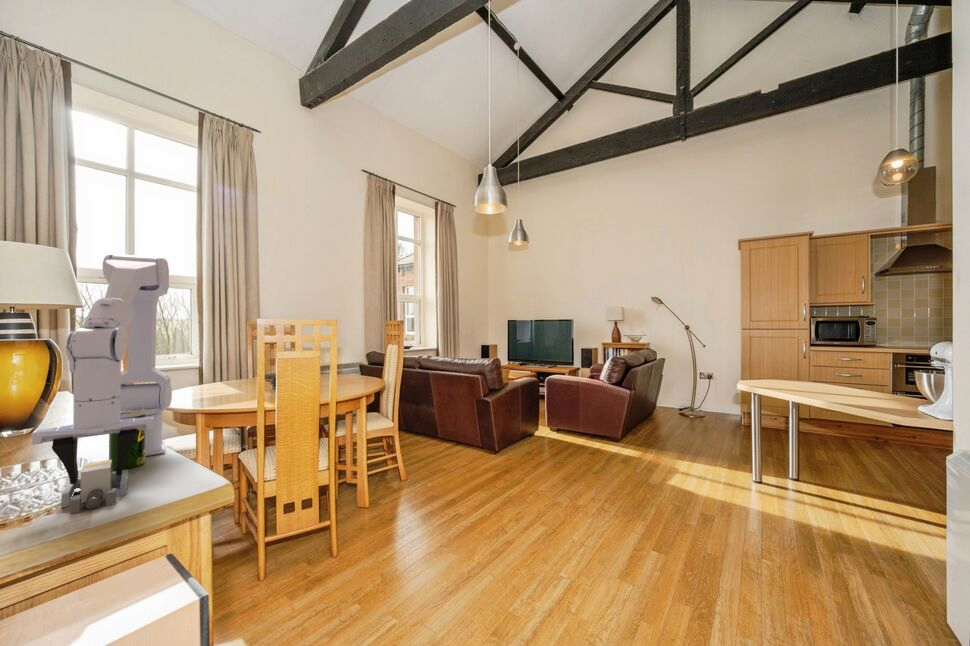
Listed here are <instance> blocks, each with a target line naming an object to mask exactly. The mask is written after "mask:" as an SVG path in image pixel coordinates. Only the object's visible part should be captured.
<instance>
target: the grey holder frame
mask: <svg viewBox="0 0 970 646" xmlns="http://www.w3.org/2000/svg"><path fill="white" fill-rule="evenodd" d="M117 485H120V486H119V488H120V489H119V490H120V491H119V492H120V493H119V495H120V497H122V496H127V495H128V485H129V473H128V469H127V470H122V475H119V476H116V472H112V486H117ZM76 488H80V489H81V477H78V480H77V483H75V484H70V480H69V479H67V482H66V485H65V487H64V489H63V491H62V493H61V509H64V508H69V507H70V509H69V513H70V514H71V515H72V514H76V513H80V512H81V509H82V503H81V494H77V495H74V496H72V494H73V492H74V489H76ZM116 489H117V488H116V487H112V489H107V493H106V498H105V500H106V507H108V506H112V505H116V499H117V497H116V496H117V495H116V493H117V491H116ZM71 497H72V498H71Z"/></svg>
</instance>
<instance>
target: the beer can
mask: <svg viewBox="0 0 970 646" xmlns="http://www.w3.org/2000/svg"><path fill="white" fill-rule="evenodd" d="M144 417H146V413H145V411H144V408H142V407H133V408H123V409H121V415H120V419H129V418H144ZM118 434H119V433H113V434H108V460H112V472H116V468H117V460H118V441H117V437H118ZM145 436H146V430H145V429H143V430H137V436H136V438H135V440H134V442H133V444H132V446H131V447H130V449H129V451H128V454H127V456H126V459H125V461H124V465H123V469H122V470H127V469H128V474H132V473H136V472H139V471H141V470H142V469H144V467H145V465H146V456H145Z"/></svg>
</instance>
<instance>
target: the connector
mask: <svg viewBox="0 0 970 646" xmlns="http://www.w3.org/2000/svg"><path fill="white" fill-rule="evenodd" d="M80 478H81V492H80V495H81V504H83V503H84V504H85V505H84V506H85V508H86V509H88V510H94V509H97V508H99V506H101V504H102V500H103V499H106V493H107V489H112V488H113V485H112V460H109V459H108V460H107V459H106V460H101V461H94V462H90V463H89V462H88V463H84V464H83V466H82V468H81V470H80Z"/></svg>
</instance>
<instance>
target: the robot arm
mask: <svg viewBox="0 0 970 646" xmlns="http://www.w3.org/2000/svg"><path fill="white" fill-rule="evenodd" d="M102 273H103V276H104V278H105V280H106V282H107V284H108V286H107V288H106V292H105V296H104V297H103V298H100V299H97V300H96V301H95V302H94V303H93V304H92V307H90V310H89V312H88V313H87V316H86V318H85V320H84V321H83V323H82V326H81V328H80V327H79V328H77V329H76V330H75V331H70V332H69V334H68V336H67V339H66V344H65V354H66V356H67V357H66V358H67V360H68V363H69V365H68V367H69V372H70V374H71V373H72V374H73V417H72V418H73V419H72V420H73V424H67V425H63V426H62V425H61V426H57V427H50V428H44V429H43V428H42V429H36V430H34V431H33V432H31V445H33V446H35V445H41V444H43V443H50V442H52V446H51V449H52V451H53V453H55V455H56V456H57V457H58V458H59V460H60V462H61V463H62V464H63V467H64V469H65V470H66V474H67V475H68V476H67V477H68V480H70V484H75V483H77V480H78V478H79V469H78V467H79V466H78V440H79V439H81V438H88V437H89V438H90V437H95V436H102V435H103V436H104V435H109V434H113V433H119V434H118V437H117V441H118V460H117V468H116V476H119V475H122V469H123V465H124V461H125V459H126V456H127V454H128V451H129V449H130V447H131V446H132V444H133V442H134V440H135V438H136V436H137V430H143V429H145V430H146V436H145V457H149V456H154V455H161V454H165V453H166V449H165V448H164V449H163V447H162V446H164V447H165V441H164V440H163V415H164V413H163V412H164V411H165V410H167V409H168V408H169V407H170V406H171V404H172V398H173V396H172V395H173V392H172V391H173V389H172V386H171V378H170V376H169V375H168V374H167V373H164V372H163V371H161V370H159V369H158V368H156V356H157V355H156V351H157V346H156V345H157V316H158V315H157V311H158V310H157V309H158V303H159V300H160V299H159V298H160V297H162V296H165V295H167V294H168V290H169V287H170V284H169V283H170V282H169V281H170V268H169V263H168V260H167V259H166V258H165V257H164V256H147V255H130V254H120V253H119V254H116V253H112V252H109V253H108V254H107V255H105V256H104V258H103V261H102ZM126 354H127V370H126V371H125V372H123V373H121V372H122V368H121V367H122V361H123V360H124V359H125V357H126ZM131 383H132V384H131ZM135 383H136V384H135ZM133 407H142V408H144V411H145V413H146V417H144V418H129V419H120V415H121V409H123V408H133ZM161 445H162V446H161Z"/></svg>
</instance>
